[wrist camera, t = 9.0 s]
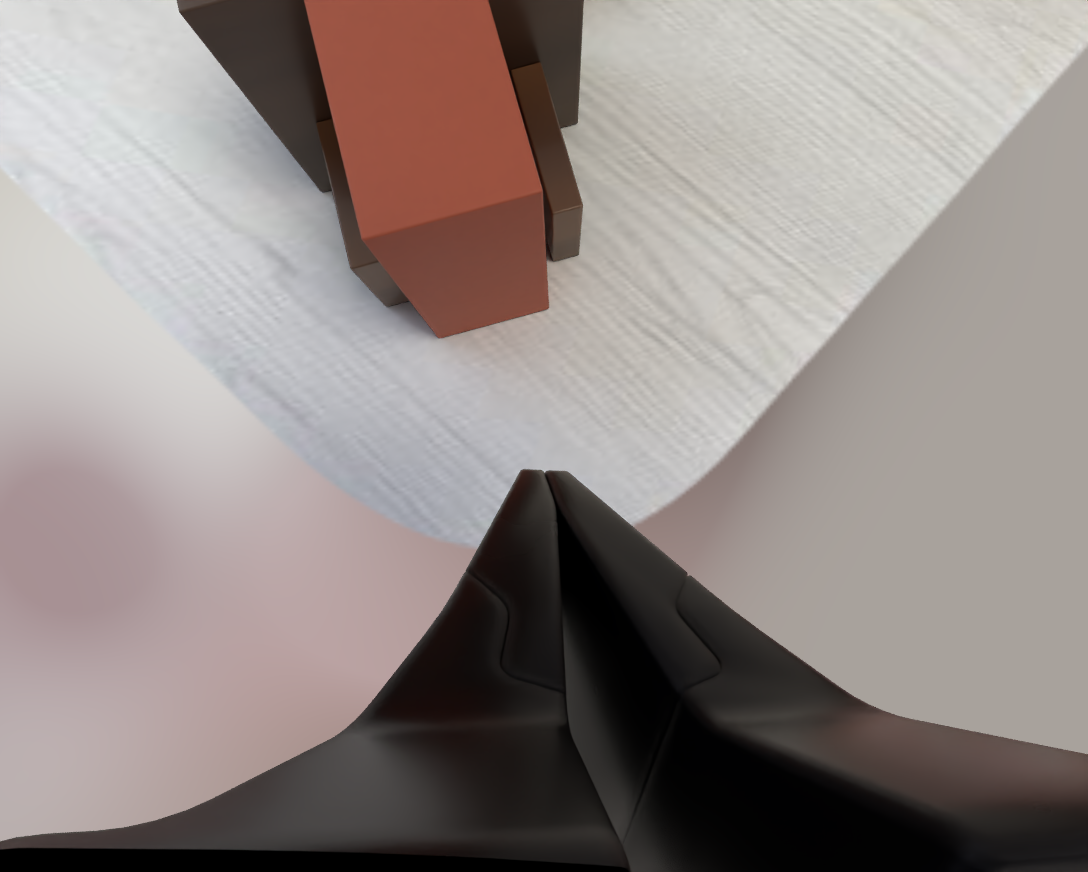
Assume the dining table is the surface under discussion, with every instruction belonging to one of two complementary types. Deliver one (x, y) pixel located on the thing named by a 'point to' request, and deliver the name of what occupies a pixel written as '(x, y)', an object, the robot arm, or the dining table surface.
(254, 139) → the dining table surface
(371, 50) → the orange rectangular block
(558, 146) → the dock
